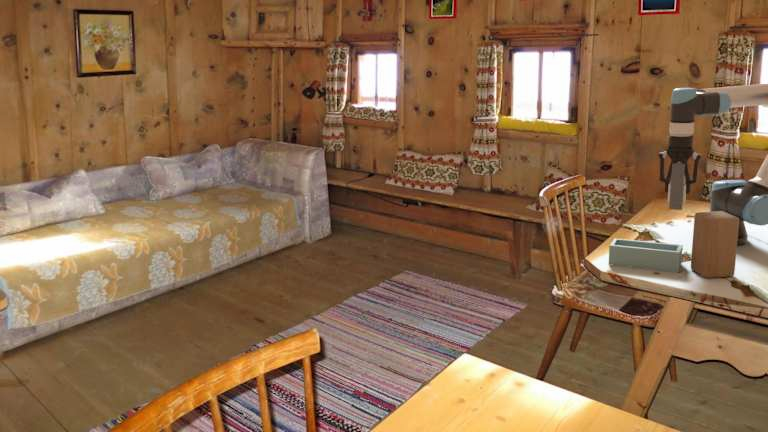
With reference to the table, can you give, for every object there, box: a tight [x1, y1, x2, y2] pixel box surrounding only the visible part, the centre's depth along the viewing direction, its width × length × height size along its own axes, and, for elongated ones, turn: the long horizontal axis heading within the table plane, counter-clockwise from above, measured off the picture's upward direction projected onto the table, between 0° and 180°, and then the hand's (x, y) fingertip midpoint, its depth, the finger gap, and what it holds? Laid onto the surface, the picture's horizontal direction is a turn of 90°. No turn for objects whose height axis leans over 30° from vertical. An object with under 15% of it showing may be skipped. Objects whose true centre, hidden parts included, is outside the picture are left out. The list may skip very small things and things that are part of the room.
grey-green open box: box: [608, 238, 684, 273], centre depth 228 cm, size 22×9×7 cm, turn 61°
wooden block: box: [690, 211, 739, 279], centre depth 215 cm, size 10×10×20 cm
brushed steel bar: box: [668, 162, 686, 211], centre depth 226 cm, size 4×4×16 cm
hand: (676, 202), depth 228 cm, fingers closed on brushed steel bar, 4 cm apart
